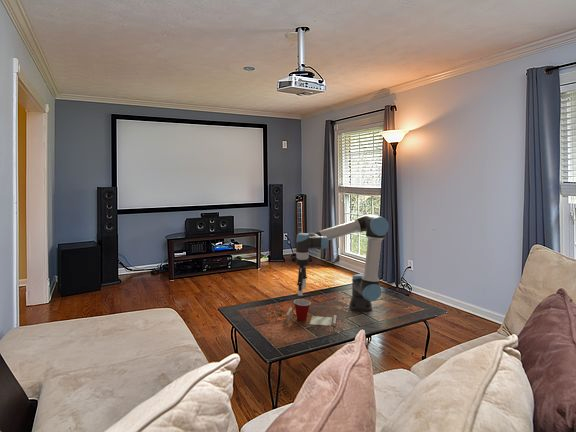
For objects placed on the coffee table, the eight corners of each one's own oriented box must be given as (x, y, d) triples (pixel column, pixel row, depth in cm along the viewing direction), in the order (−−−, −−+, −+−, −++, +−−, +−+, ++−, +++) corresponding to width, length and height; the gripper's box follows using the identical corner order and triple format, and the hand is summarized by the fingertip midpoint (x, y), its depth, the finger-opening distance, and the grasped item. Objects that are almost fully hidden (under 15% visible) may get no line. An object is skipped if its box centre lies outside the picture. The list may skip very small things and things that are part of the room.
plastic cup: (309, 323, 231) (309, 304, 230) (292, 322, 233) (292, 303, 232) (311, 317, 242) (312, 299, 240) (295, 316, 244) (295, 298, 242)
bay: (336, 318, 240) (336, 310, 239) (335, 326, 227) (335, 318, 227) (289, 315, 245) (289, 307, 245) (286, 322, 233) (286, 314, 232)
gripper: (299, 254, 246) (299, 285, 248) (292, 262, 222) (292, 297, 224) (310, 254, 245) (310, 286, 247) (305, 263, 220) (305, 298, 223)
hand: (301, 292), depth 235 cm, fingers open, 13 cm apart
